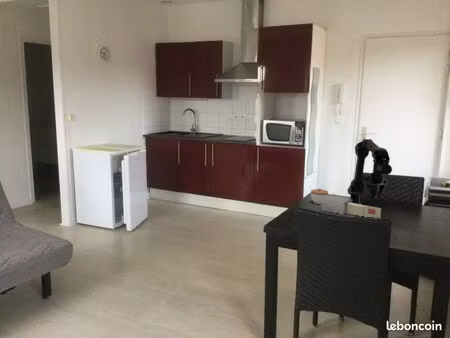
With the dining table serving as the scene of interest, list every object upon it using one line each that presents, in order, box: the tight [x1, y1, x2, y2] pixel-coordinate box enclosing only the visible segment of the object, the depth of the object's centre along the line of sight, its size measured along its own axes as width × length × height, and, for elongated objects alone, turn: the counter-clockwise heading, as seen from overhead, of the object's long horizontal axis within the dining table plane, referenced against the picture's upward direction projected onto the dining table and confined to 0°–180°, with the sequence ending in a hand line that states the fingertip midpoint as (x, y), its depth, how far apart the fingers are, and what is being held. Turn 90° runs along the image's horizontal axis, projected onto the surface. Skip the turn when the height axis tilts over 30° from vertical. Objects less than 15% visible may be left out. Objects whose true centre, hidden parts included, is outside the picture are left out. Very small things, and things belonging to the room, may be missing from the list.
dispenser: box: [320, 194, 353, 216], centre depth 245 cm, size 11×15×8 cm
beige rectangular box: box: [345, 203, 382, 219], centre depth 235 cm, size 3×19×6 cm, turn 51°
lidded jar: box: [310, 188, 329, 205], centre depth 263 cm, size 11×11×9 cm
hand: (376, 198), depth 230 cm, fingers open, 9 cm apart
